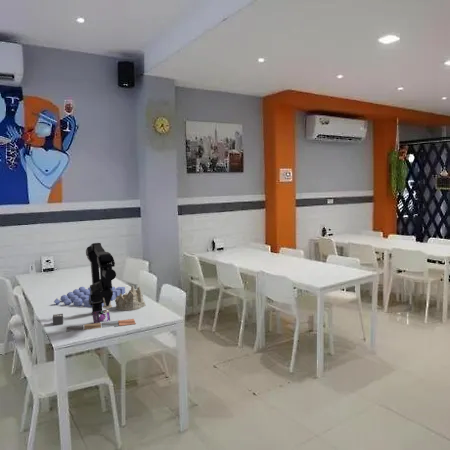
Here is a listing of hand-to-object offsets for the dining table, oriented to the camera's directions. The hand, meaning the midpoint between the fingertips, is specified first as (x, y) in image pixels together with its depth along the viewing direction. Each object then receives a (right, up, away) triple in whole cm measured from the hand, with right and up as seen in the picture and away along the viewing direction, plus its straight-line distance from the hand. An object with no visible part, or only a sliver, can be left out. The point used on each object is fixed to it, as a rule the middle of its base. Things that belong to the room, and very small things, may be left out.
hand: (107, 305), depth 230 cm
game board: (-3, -11, 0) cm, 12 cm away
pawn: (0, -1, 0) cm, 1 cm away
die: (-28, -11, +5) cm, 31 cm away
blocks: (-27, -7, +55) cm, 62 cm away
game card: (-5, -11, +7) cm, 14 cm away
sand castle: (+5, -8, +35) cm, 36 cm away
